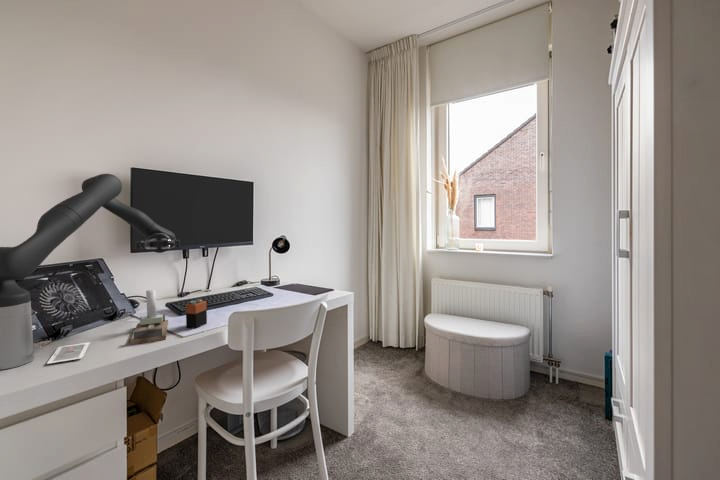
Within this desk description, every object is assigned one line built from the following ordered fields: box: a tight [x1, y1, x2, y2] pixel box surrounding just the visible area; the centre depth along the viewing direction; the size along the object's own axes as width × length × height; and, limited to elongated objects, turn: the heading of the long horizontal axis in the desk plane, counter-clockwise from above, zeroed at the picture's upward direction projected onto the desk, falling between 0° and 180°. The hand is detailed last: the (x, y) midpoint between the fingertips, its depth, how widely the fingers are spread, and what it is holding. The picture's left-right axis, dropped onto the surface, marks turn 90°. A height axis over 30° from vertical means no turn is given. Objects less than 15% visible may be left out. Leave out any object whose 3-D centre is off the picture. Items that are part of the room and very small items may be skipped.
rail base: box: [130, 313, 169, 345], centre depth 122 cm, size 10×20×4 cm, turn 28°
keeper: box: [139, 289, 163, 325], centre depth 127 cm, size 7×4×12 cm, turn 118°
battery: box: [185, 298, 208, 329], centre depth 130 cm, size 4×7×10 cm, turn 168°
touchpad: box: [46, 341, 91, 364], centre depth 103 cm, size 8×15×2 cm, turn 32°
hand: (157, 245), depth 121 cm, fingers open, 8 cm apart
